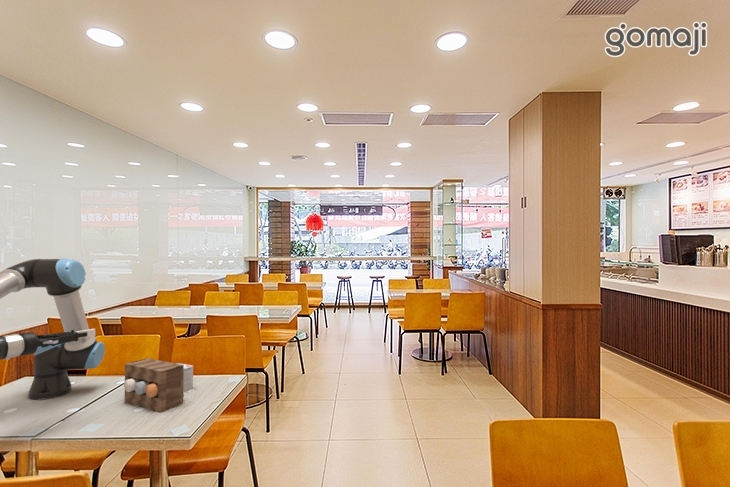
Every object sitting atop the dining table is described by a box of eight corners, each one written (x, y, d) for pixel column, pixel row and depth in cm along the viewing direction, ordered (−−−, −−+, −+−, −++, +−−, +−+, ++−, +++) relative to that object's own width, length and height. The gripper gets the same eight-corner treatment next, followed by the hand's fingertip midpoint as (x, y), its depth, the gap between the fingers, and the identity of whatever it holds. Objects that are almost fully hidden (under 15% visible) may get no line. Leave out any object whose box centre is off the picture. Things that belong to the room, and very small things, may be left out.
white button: (124, 391, 161) (124, 378, 162) (143, 384, 169) (143, 373, 169) (131, 392, 159) (131, 380, 159) (150, 386, 167) (150, 375, 167)
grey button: (134, 393, 158) (134, 381, 158) (153, 387, 166) (153, 375, 166) (142, 395, 156) (142, 383, 156) (161, 389, 163) (161, 377, 164)
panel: (124, 401, 164) (124, 363, 164) (147, 394, 173) (147, 358, 173) (161, 412, 153) (161, 371, 153) (183, 403, 162) (183, 365, 162)
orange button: (145, 396, 155) (145, 383, 155) (164, 390, 162) (164, 378, 163) (153, 398, 153) (153, 385, 153) (172, 391, 160) (172, 379, 160)
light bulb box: (164, 390, 178) (164, 366, 179) (176, 385, 185) (177, 362, 185) (181, 393, 174) (181, 369, 175) (193, 388, 180) (193, 365, 181)
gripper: (10, 353, 134) (84, 340, 155) (28, 358, 128) (103, 343, 149) (10, 332, 134) (85, 321, 155) (29, 335, 128) (104, 324, 149)
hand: (94, 332), depth 152 cm, fingers closed
